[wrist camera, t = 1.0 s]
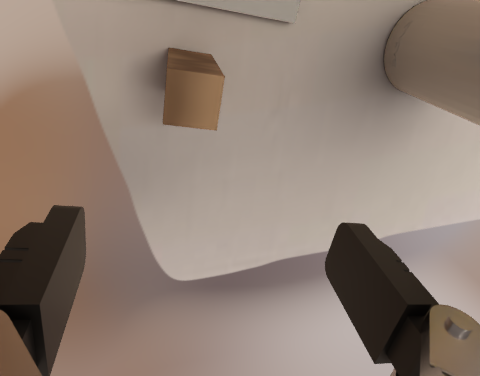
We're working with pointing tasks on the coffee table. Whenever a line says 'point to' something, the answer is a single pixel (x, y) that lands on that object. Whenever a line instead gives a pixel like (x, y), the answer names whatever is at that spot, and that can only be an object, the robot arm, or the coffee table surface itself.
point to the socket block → (256, 7)
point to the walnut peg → (192, 90)
